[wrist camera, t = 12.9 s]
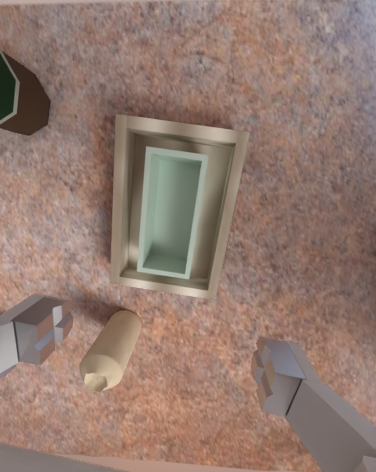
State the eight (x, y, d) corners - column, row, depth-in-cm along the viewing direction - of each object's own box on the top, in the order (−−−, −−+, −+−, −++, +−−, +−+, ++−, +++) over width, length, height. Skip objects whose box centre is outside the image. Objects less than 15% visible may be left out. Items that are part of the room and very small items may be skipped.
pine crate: (241, 141, 23) (249, 132, 20) (213, 284, 29) (215, 300, 25) (129, 125, 24) (115, 113, 20) (121, 270, 29) (110, 283, 25)
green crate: (206, 161, 24) (208, 155, 19) (191, 263, 27) (189, 279, 22) (157, 154, 24) (146, 146, 19) (147, 256, 27) (136, 271, 23)
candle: (112, 306, 31) (73, 360, 21) (144, 314, 31) (120, 372, 21) (108, 332, 32) (69, 394, 23) (139, 340, 33) (113, 405, 23)
